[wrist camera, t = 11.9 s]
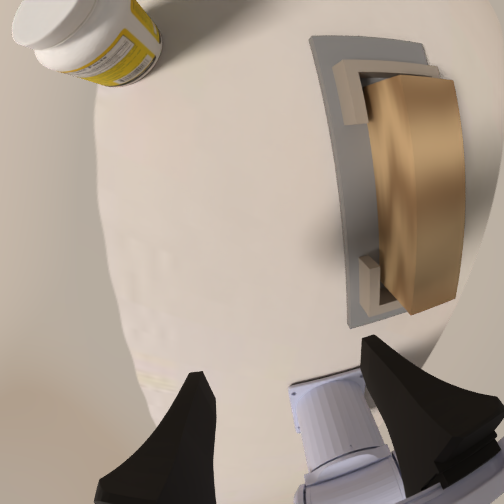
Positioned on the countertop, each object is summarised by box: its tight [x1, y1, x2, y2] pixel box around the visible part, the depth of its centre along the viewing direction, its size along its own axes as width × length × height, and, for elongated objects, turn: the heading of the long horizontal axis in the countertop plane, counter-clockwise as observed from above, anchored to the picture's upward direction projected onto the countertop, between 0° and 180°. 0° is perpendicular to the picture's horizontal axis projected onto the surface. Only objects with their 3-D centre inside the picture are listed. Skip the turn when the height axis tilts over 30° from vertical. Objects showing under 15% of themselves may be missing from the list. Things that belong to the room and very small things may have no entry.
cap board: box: [309, 36, 440, 329], centre depth 17 cm, size 22×9×3 cm, turn 11°
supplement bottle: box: [12, 0, 162, 87], centre depth 9 cm, size 5×5×10 cm
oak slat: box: [362, 75, 465, 315], centre depth 15 cm, size 14×4×5 cm, turn 12°
